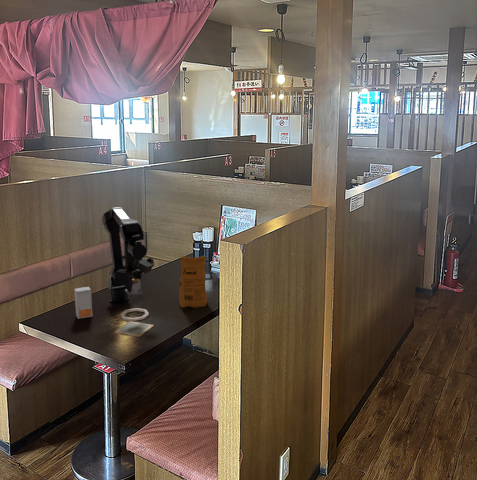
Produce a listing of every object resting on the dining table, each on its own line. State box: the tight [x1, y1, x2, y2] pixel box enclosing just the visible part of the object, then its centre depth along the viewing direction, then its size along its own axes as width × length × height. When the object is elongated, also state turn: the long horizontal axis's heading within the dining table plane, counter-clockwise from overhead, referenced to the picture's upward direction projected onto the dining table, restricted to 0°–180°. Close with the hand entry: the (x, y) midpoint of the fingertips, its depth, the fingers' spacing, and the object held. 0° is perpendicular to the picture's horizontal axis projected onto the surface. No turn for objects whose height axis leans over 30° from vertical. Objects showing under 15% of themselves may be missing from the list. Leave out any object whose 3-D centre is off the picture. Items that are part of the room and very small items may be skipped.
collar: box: [120, 307, 150, 322], centre depth 213 cm, size 11×11×1 cm
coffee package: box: [178, 255, 208, 309], centre depth 223 cm, size 10×12×22 cm
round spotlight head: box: [125, 277, 143, 296], centre depth 207 cm, size 6×7×6 cm
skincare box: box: [73, 286, 93, 320], centre depth 211 cm, size 6×4×12 cm
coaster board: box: [113, 320, 155, 338], centre depth 200 cm, size 11×11×1 cm
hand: (133, 289), depth 207 cm, fingers closed on round spotlight head, 6 cm apart
